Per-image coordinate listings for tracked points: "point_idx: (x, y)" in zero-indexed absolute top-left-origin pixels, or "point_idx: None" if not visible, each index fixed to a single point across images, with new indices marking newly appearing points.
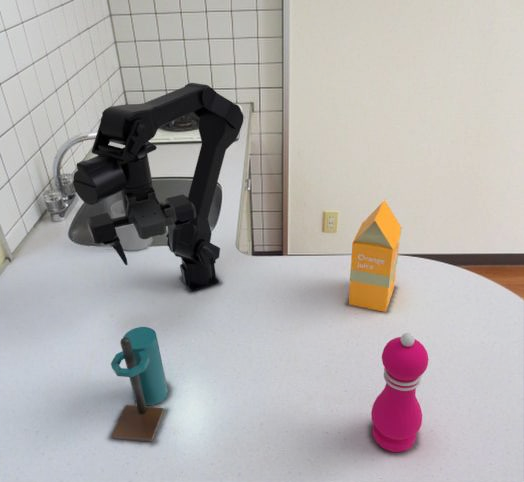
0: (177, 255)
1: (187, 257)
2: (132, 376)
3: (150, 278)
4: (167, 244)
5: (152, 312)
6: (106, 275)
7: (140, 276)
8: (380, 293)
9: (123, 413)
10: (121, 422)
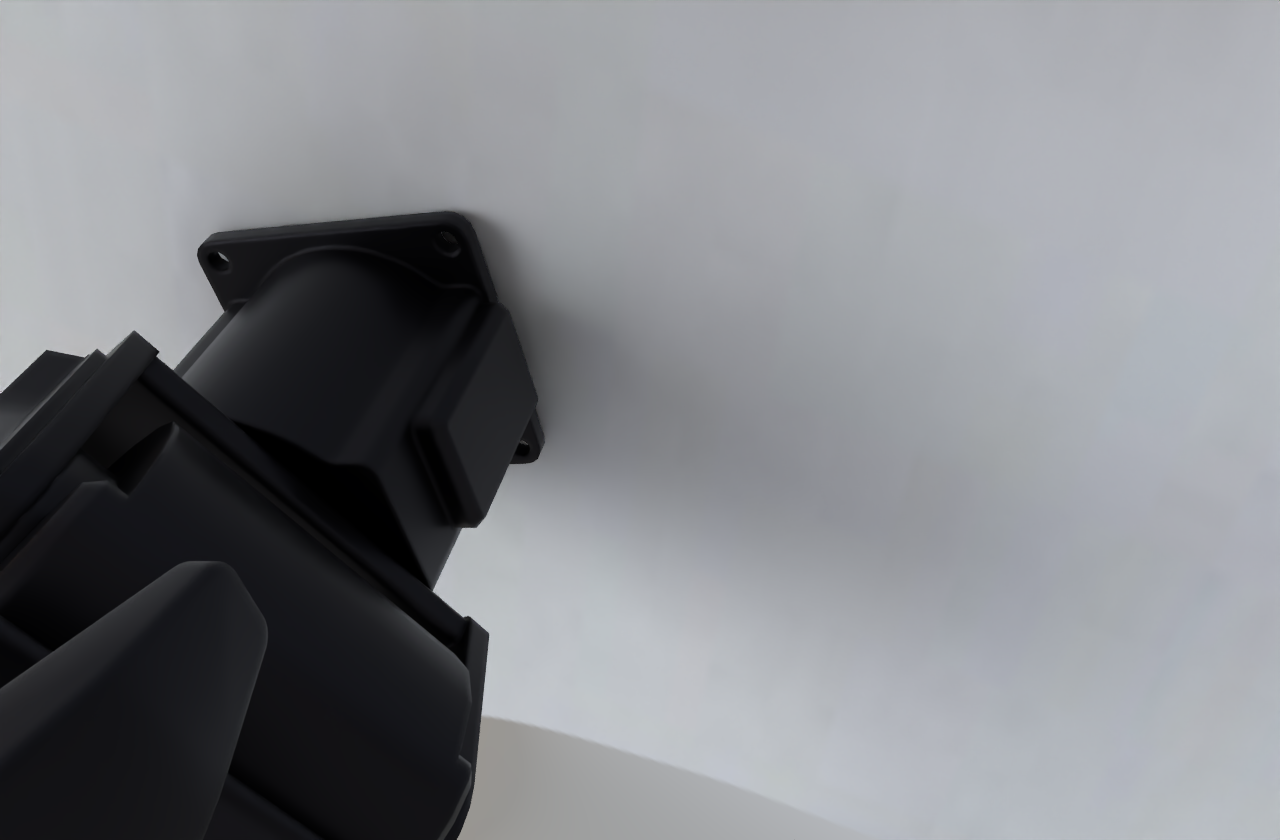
0: (461, 629)
1: (252, 501)
2: None
3: (826, 543)
4: (462, 788)
5: (939, 30)
6: (1189, 720)
7: (906, 599)
8: None
9: None
10: None
